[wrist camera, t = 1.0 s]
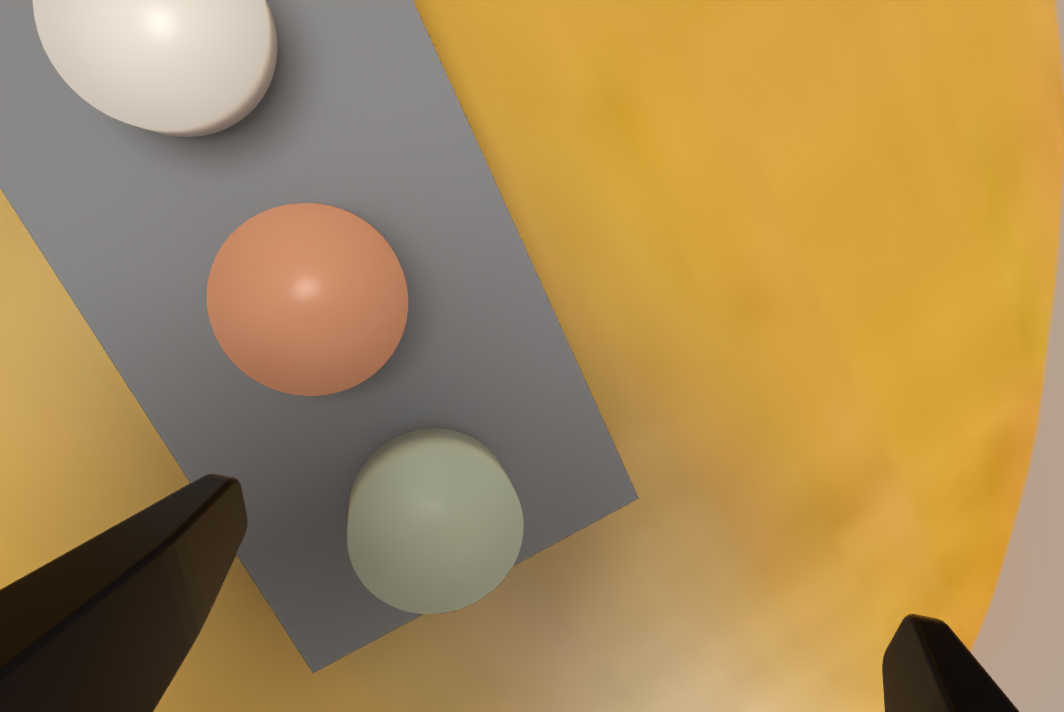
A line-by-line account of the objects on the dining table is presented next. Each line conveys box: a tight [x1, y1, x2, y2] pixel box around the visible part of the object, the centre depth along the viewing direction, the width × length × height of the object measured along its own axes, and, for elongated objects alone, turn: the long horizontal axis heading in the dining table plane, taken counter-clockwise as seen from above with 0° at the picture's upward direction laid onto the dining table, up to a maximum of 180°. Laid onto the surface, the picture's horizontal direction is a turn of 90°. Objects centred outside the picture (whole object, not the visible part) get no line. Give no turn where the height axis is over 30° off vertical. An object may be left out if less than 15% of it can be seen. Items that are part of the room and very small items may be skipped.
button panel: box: [0, 0, 639, 673], centre depth 22 cm, size 11×20×3 cm, turn 26°
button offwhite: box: [33, 0, 277, 137], centre depth 16 cm, size 4×4×2 cm
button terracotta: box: [206, 203, 408, 396], centre depth 18 cm, size 4×4×2 cm
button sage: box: [347, 428, 524, 614], centre depth 20 cm, size 4×4×2 cm
